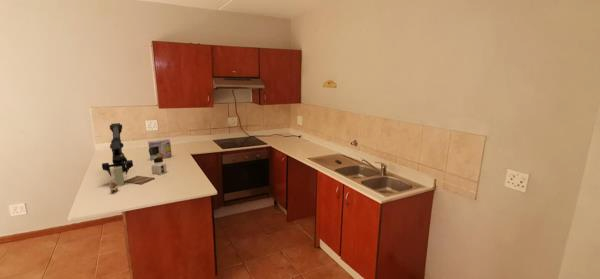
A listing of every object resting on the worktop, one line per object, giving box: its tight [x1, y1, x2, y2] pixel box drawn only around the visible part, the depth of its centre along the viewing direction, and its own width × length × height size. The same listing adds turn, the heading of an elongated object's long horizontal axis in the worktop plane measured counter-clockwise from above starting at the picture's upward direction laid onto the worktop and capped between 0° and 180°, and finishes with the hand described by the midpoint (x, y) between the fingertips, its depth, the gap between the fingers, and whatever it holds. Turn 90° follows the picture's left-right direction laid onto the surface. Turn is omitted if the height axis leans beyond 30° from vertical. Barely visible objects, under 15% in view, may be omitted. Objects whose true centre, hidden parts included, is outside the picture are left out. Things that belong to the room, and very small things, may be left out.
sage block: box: [112, 166, 125, 187], centre depth 208 cm, size 5×5×13 cm
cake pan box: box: [147, 138, 173, 161], centre depth 274 cm, size 19×5×18 cm, turn 129°
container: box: [150, 157, 168, 176], centre depth 234 cm, size 8×8×13 cm
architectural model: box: [108, 179, 121, 194], centre depth 196 cm, size 3×7×7 cm, turn 7°
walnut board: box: [124, 175, 156, 185], centre depth 218 cm, size 16×13×1 cm
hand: (118, 175), depth 207 cm, fingers open, 9 cm apart
